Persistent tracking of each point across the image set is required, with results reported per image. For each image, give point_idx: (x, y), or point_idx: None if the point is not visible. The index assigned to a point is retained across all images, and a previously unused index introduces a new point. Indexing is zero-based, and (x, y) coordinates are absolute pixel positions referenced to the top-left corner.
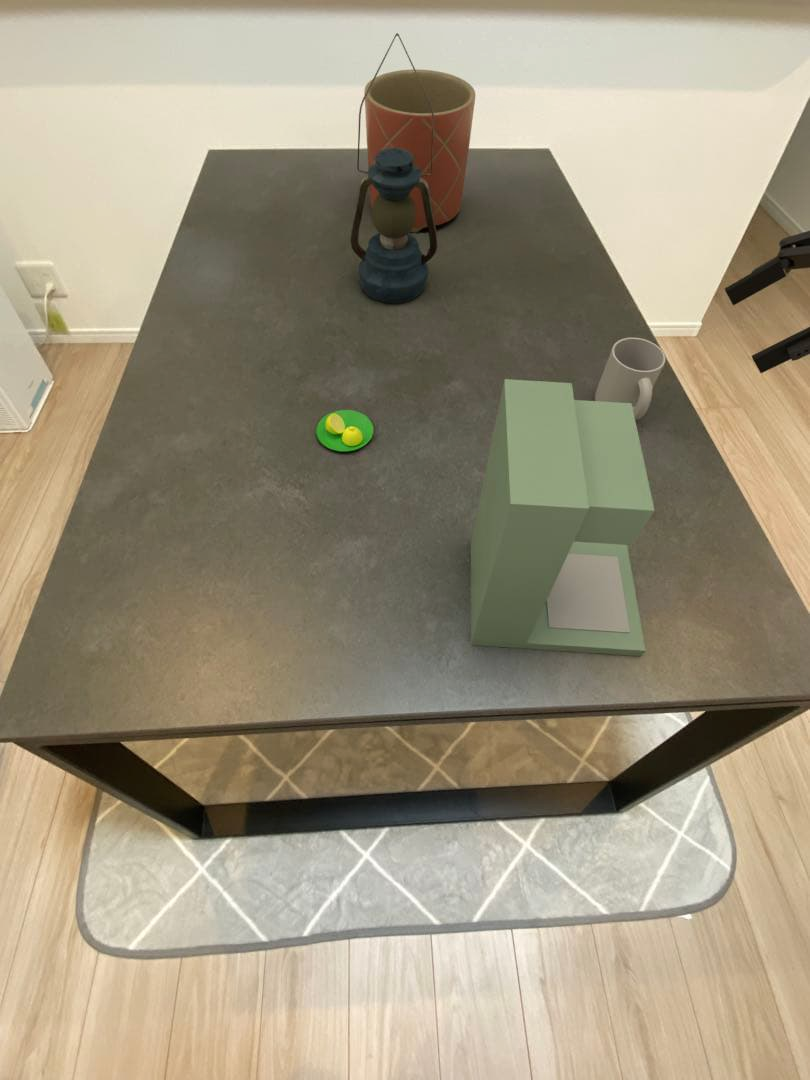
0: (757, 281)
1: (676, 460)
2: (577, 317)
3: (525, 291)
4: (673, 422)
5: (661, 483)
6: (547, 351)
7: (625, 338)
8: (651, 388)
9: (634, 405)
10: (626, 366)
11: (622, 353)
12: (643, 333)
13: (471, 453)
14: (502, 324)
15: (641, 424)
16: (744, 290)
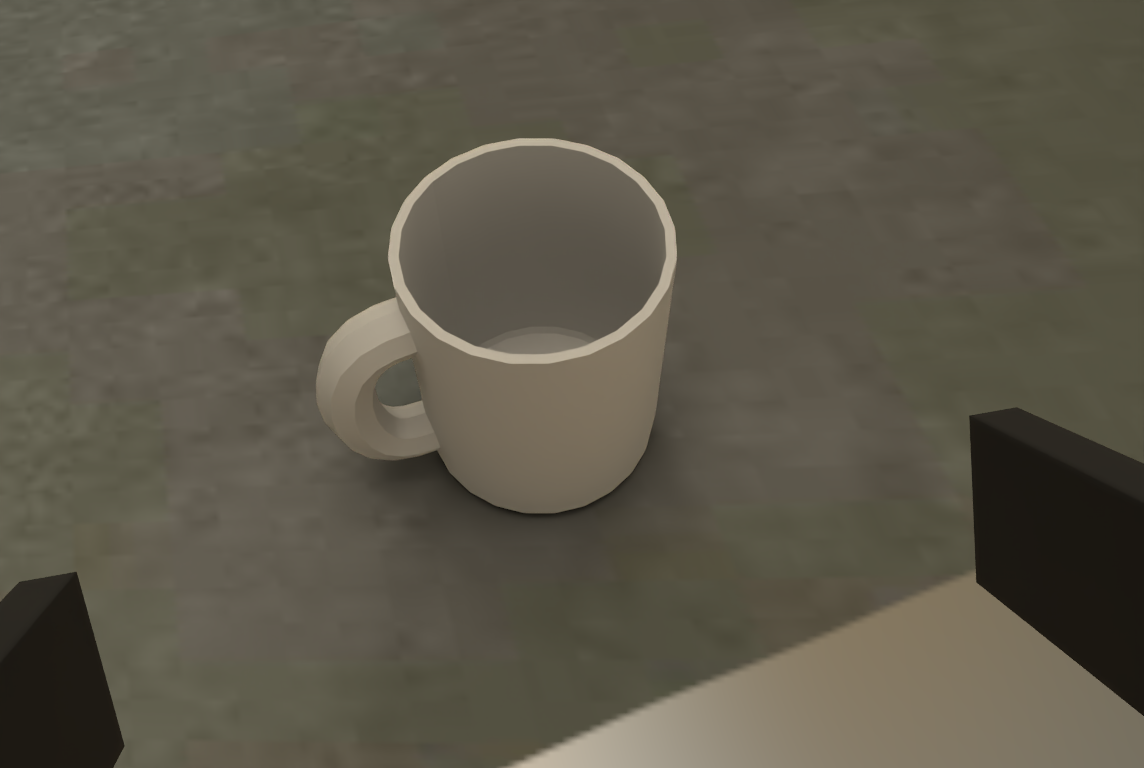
0: (1126, 582)
1: (206, 684)
2: (1072, 234)
3: (1131, 56)
4: (473, 669)
5: None
6: (781, 156)
7: (648, 184)
8: (351, 357)
9: (427, 416)
10: (417, 196)
11: (642, 255)
12: None
13: (178, 23)
14: (873, 17)
15: (425, 521)
16: (1048, 549)
